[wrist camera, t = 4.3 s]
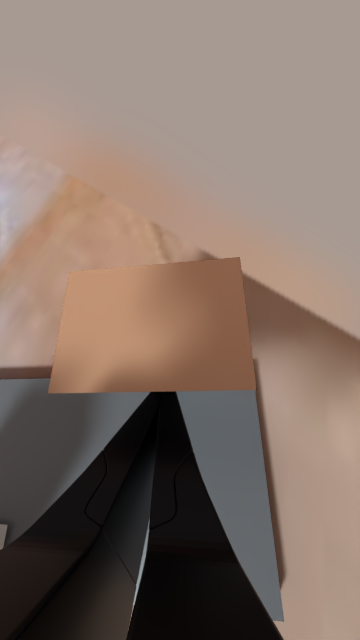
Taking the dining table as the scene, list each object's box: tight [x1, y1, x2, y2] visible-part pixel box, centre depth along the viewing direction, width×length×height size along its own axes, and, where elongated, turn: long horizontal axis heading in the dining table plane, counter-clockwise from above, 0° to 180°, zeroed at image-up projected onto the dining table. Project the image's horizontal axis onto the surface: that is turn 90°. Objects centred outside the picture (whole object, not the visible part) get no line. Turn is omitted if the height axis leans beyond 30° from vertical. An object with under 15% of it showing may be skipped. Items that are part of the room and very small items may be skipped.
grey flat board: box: [0, 378, 284, 622], centre depth 15 cm, size 13×24×2 cm, turn 91°
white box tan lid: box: [48, 257, 257, 393], centre depth 11 cm, size 4×6×10 cm
